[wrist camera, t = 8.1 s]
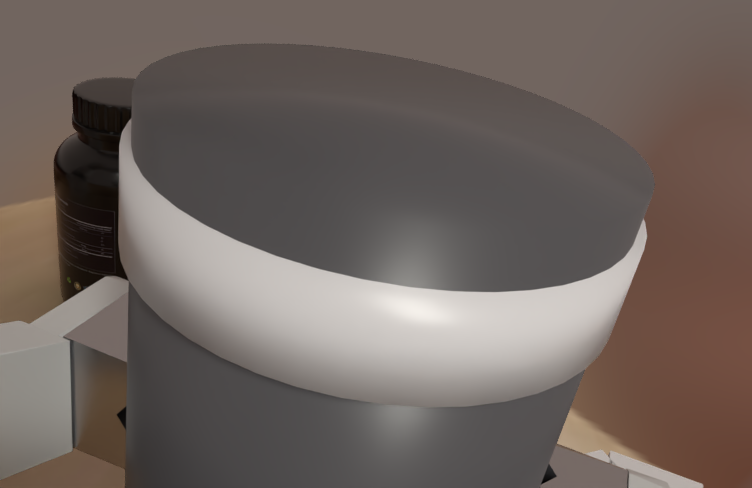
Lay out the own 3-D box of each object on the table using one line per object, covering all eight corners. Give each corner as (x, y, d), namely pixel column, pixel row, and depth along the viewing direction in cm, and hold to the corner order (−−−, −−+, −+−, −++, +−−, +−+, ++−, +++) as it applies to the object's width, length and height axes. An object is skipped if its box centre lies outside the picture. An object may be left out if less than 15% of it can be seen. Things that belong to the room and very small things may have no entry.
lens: (33, 789, 10) (-27, 98, 5) (227, 523, 14) (283, 22, 10) (376, 994, 9) (670, 325, 4) (471, 633, 13) (664, 121, 9)
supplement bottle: (123, 253, 44) (125, 62, 39) (212, 293, 42) (227, 97, 37) (30, 298, 39) (17, 82, 33) (126, 347, 36) (129, 125, 31)
